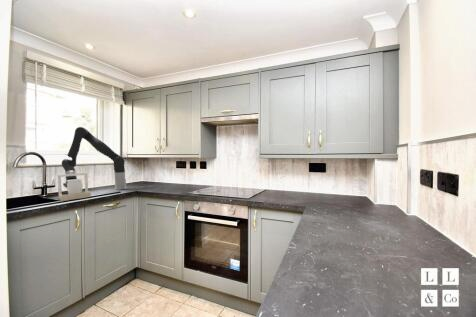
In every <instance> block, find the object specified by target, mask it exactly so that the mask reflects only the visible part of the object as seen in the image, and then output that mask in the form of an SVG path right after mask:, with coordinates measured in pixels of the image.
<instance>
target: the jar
mask: <svg viewBox="0 0 476 317" xmlns="http://www.w3.org/2000/svg"><path fill="white" fill-rule="evenodd" d="M67 182H68V183H67V188H66V190H67V193H68V194H77V193H83V185H84V184H83V179H82V178H77V179H71V180H67ZM68 194H67V195H68Z"/></svg>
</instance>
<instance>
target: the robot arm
mask: <svg viewBox="0 0 476 317" xmlns="http://www.w3.org/2000/svg"><path fill="white" fill-rule="evenodd" d="M82 140H85V141H87V142H88V143H89V144H90V145H91V146H92V147H93V148H94V149H95V150H96V151H98V153H100V154H102V155H104V156H106V157H107V158H109V159H110V160H111V161H112V162H113V170H114V190H116V191H119V190H126V189H127V179H126V169H125V161H126V160H125V158H124V157H123V156H121V155H119V154H117V153H116V152H115V151H114V150H113V149H112V148H110V147H109V145H108V144H106V143H105V142H103V141H102V140H100V139H99V138H97V137H95V136H94V135H93V134H92V132H90V131H89V130H88V129H87V128H85V127H84V126H83V127H82V126H78V127H76V129H74V135H73V139H72V143H71V145H70V148H69V150H68V152H67V157H68V158H70V159H68V158H64V159H63V160H62V161H61V167H62V168H63V170H64V173H65V174H77V172H76V169H75V167H76V165H77V157H78V154H79V151H80V147H81V142H82ZM71 179H78V178H77V176H65V183H63V184H62V186H63V187H64V188H66V189H67V183H68V182H67V180H71Z"/></svg>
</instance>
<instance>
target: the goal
mask: <svg viewBox="0 0 476 317" xmlns="http://www.w3.org/2000/svg"><path fill="white" fill-rule="evenodd" d="M66 176H76V177H77V176H84V187H85V188H84V192H82V193H77V194H63V193H62V178H63V177H66ZM88 182H89V180H88V172H79V173H76V174H66V173H65V174H57V188H58V190H57V191H58V199H59V198H60V199H59V200H60V201H61V200H63V201H68V200H69V199H70V200H75V199H83V198H84V199H85V198H90V197H91V196H92V195H91V191H90V190H89V183H88ZM70 200H69V201H70Z"/></svg>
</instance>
